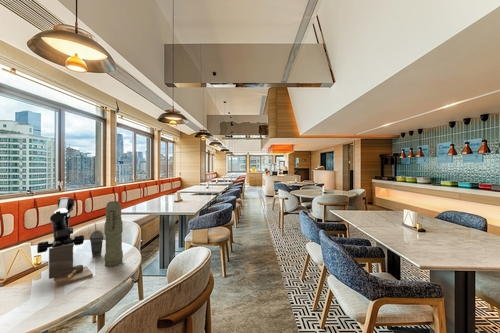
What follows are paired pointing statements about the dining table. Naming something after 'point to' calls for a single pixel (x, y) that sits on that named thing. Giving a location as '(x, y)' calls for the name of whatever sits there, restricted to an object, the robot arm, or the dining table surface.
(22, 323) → the dining table surface
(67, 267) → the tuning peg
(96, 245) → the beverage cup
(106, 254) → the moai statue
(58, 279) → the dial plate
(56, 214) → the robot arm
